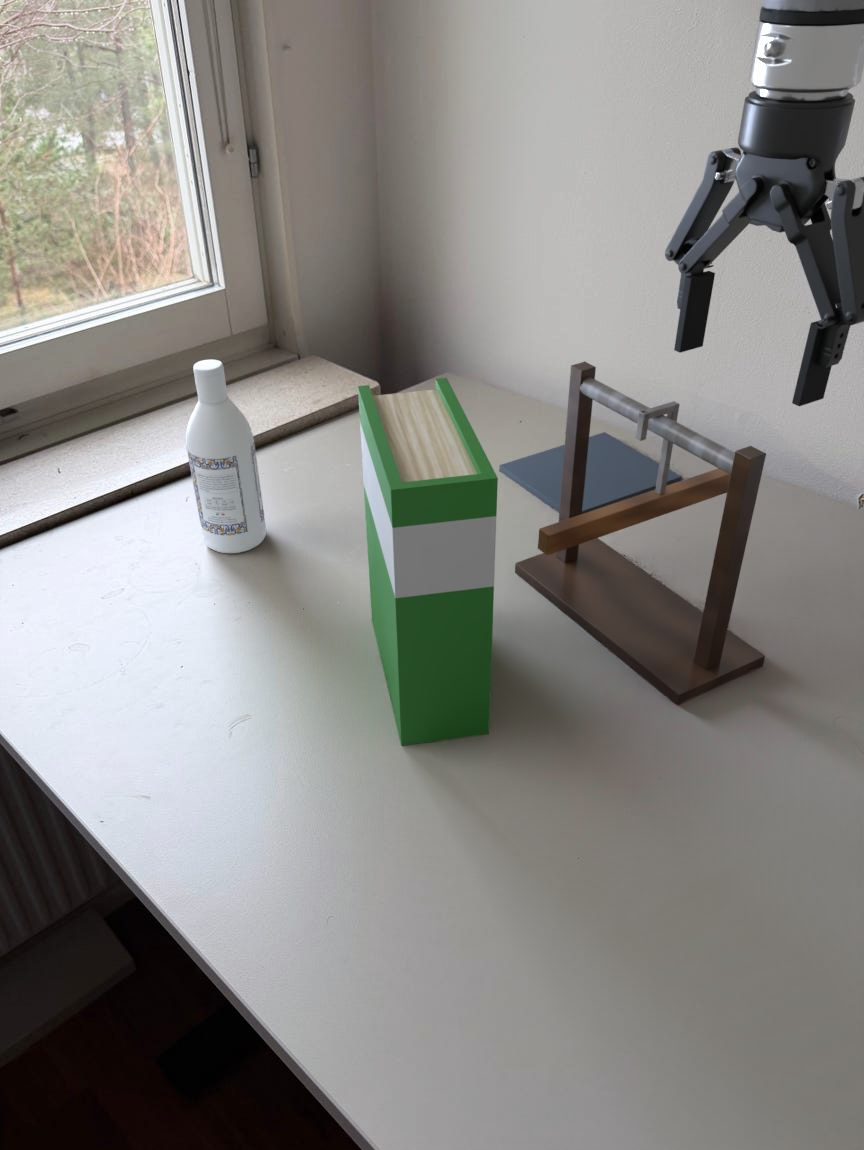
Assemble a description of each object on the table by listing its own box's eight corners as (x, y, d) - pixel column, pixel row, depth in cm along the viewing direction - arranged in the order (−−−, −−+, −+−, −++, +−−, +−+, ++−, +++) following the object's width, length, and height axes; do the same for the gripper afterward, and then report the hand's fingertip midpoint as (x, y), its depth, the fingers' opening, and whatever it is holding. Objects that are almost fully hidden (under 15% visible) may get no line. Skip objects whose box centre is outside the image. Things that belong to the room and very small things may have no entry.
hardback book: (371, 620, 94) (357, 386, 79) (446, 611, 95) (446, 377, 80) (401, 745, 80) (390, 489, 66) (488, 733, 81) (497, 478, 66)
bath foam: (236, 515, 111) (209, 346, 99) (279, 534, 107) (257, 360, 95) (191, 542, 107) (157, 368, 95) (234, 562, 103) (206, 384, 91)
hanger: (729, 482, 91) (751, 375, 84) (740, 488, 90) (763, 381, 83) (537, 548, 83) (545, 436, 76) (547, 556, 82) (556, 442, 75)
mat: (604, 437, 123) (604, 431, 122) (681, 482, 113) (682, 476, 112) (498, 470, 117) (499, 464, 116) (570, 521, 107) (571, 515, 107)
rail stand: (592, 544, 103) (613, 347, 90) (762, 666, 86) (819, 445, 73) (514, 572, 100) (524, 371, 86) (676, 705, 83) (720, 480, 69)
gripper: (643, 76, 77) (614, 337, 90) (916, 122, 60) (831, 439, 73) (714, 66, 80) (676, 321, 93) (995, 107, 62) (899, 415, 75)
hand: (744, 373), depth 83 cm, fingers open, 13 cm apart
